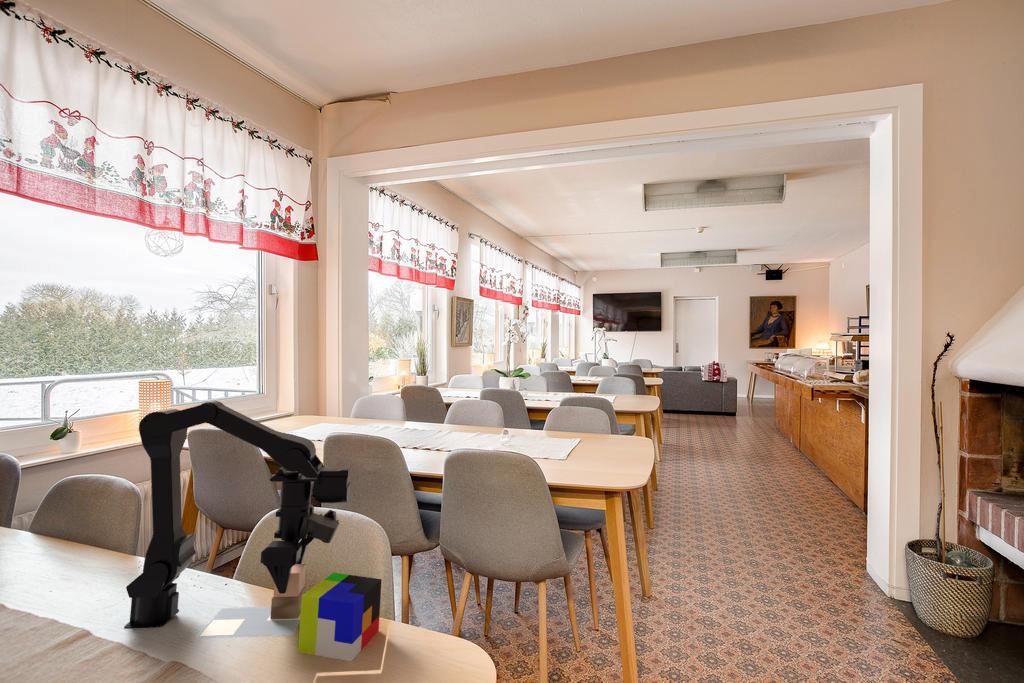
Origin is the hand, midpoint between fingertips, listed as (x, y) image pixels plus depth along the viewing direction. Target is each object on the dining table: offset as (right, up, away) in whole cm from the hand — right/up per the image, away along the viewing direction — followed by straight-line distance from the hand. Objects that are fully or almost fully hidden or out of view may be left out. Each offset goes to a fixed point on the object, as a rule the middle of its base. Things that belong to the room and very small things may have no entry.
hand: (289, 582), depth 99 cm
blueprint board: (-5, -6, -4) cm, 9 cm away
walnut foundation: (0, -6, 0) cm, 6 cm away
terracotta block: (0, -2, 0) cm, 2 cm away
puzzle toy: (+13, -7, -9) cm, 18 cm away
